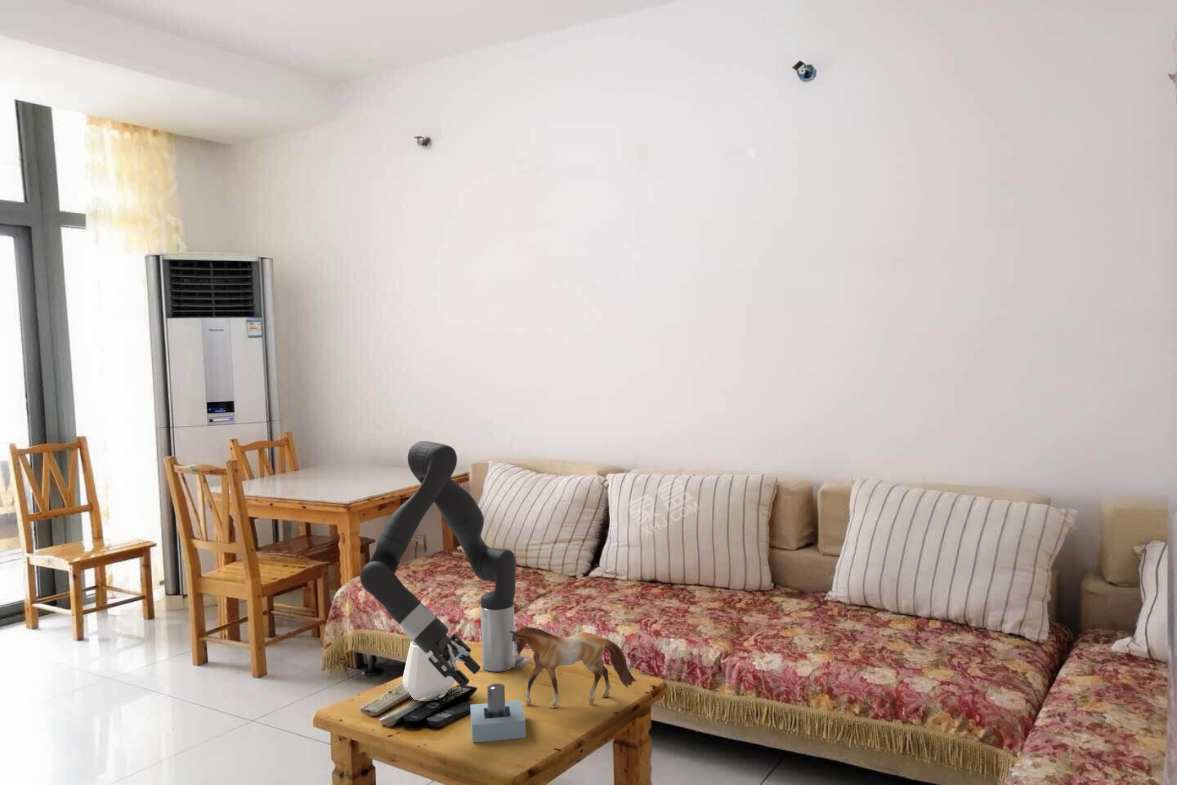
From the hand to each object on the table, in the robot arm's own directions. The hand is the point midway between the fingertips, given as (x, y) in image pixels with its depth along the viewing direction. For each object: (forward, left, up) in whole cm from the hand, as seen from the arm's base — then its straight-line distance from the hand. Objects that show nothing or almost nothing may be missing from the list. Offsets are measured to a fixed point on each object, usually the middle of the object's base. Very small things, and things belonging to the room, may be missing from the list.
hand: (472, 677), depth 203 cm
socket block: (+2, +5, -12) cm, 13 cm away
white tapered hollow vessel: (-23, -11, -12) cm, 28 cm away
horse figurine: (-7, +25, -12) cm, 29 cm away
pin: (+2, +5, -12) cm, 13 cm away
